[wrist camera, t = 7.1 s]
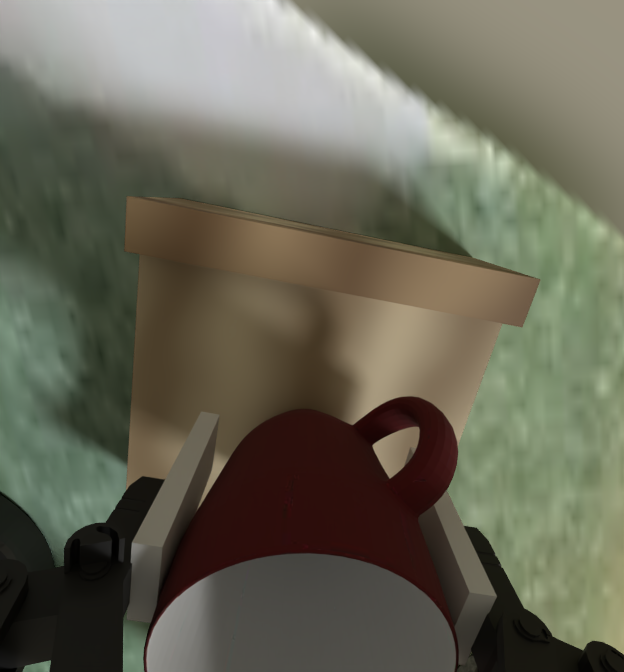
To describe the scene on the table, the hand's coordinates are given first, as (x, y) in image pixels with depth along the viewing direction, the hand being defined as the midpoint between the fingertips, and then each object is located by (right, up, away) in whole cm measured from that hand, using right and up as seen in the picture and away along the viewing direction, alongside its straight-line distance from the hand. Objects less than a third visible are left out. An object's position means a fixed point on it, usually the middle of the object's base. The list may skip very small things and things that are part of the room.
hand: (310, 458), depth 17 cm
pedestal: (-1, +2, +7) cm, 8 cm away
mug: (0, +1, +3) cm, 3 cm away
